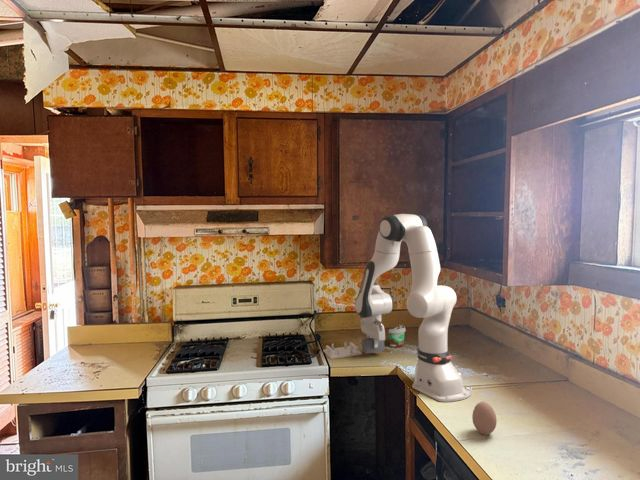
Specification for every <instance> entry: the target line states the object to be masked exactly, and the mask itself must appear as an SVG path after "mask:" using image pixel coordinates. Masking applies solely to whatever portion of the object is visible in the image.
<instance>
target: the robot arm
mask: <svg viewBox="0 0 640 480" xmlns="http://www.w3.org/2000/svg"><path fill="white" fill-rule="evenodd" d="M403 241H404V243H406V246H407V248H408V249H407V250H408V256H409V261H410V263H409V264H410V268H411V274H412V277H411V288H410V292H409V294H408V297H407V299H406V308H407V311H408V312H409V314H410V315H411V316H413V317H415V318H418V319H419V318H420V319H422V322H421V324H420V325H419V327H418V335H417V336H418V348H417V352H416V353H417V358H418V360H417V363H416V365H415V369H414V371H415V372H414V382H413V383H412V386H411V387H412V389H414V390H416V391H418V392H420V393H423V394H424V395H426V396H428V397H430V398H431V399H434V400H436V401H438V402H443V403H445V402H446V403H448V402H449V403H450V402H456V401H457V402H458V401H462V400H465V399H468V398H470V396H471V392H470V391H468V390H467V389H466V388H465V387H464V381H463V378H462V373H461V372H458V371H457V368H456V367H455V366H454V364H453V363H452V362H451V361H452V358H453V357H452V355H451V354H450V352H449V349H448V333H449V332H448V331H449V325H450V321H451V316H452V312H453V310H454V307H455V305H456V304H457V300H458V299H457V298H458V297H457V294H456V292H455V290H454V289H453V288H452V287H450V286H448V285H443V284H441V285H440V284H438V279H439V275H440V272H441V263H440V258H439V253H438V247H437V245H436V239H435V238H434V235H433V233H432V230H431V228H429V226H428V222H427V219H426V218H425V216H423V215H421V214H419V213H418V214H417V213H412V214H410V213H399V214H390V215H386V216H384V217H382V218H381V220H380V222H379V224H378V233H377V237H376V239H375V245H374V252H373V256H372V258H371V259H370V260H369V261H368V263H367V264H366V266H365V268H364V272H363V276H362V279H361V283H360V288H359V291H358V294H357V296H356V299H355V302H354V310H355V312H356V314H357V315H358V316H359V319H360V329H361V333H363V334H365V335H366V338H374V343H373V346H374V347H375V348H377V347H378V342H379V341H384V342H385V341H386V330H385V326H384V324H383V323H382V315H386V314H390V313H392V311H393V310H394V306H395V301H394V298H393V297H392V295H391V294H389V293H387V292H385V291H384V290H382V289H381V286H380V285H379V284H377V283H375V281H376V279H377V278H378V277H380V276H381V275H382V274H384V273H386V272H389V271H391V270H392V269H394V268H395V267H396V266H397V264H398V262H399V259H400V252H401V244H402V242H403ZM374 283H375V284H374Z"/></svg>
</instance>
